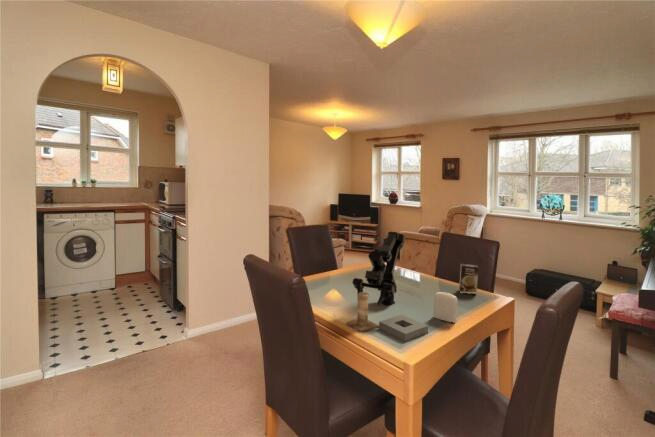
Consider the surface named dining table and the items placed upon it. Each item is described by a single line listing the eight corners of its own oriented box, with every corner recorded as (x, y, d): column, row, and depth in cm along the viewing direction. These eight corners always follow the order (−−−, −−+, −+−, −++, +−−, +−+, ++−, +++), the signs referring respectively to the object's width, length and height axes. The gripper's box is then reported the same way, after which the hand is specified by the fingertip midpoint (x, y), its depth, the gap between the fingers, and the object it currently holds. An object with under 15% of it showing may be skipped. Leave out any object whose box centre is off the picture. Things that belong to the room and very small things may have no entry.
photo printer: (431, 317, 154) (433, 291, 153) (435, 315, 157) (437, 289, 156) (453, 324, 147) (455, 296, 146) (457, 321, 150) (459, 294, 149)
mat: (345, 324, 144) (345, 322, 143) (362, 319, 150) (362, 317, 149) (361, 332, 136) (361, 330, 136) (378, 327, 142) (378, 325, 142)
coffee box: (459, 293, 192) (461, 265, 190) (458, 290, 198) (460, 263, 196) (476, 295, 189) (478, 267, 187) (475, 292, 195) (477, 264, 194)
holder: (378, 328, 140) (379, 321, 140) (401, 321, 149) (401, 314, 148) (405, 341, 129) (405, 333, 129) (427, 332, 138) (428, 325, 137)
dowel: (356, 321, 144) (357, 292, 143) (366, 321, 145) (367, 292, 144) (358, 326, 140) (359, 295, 139) (368, 325, 141) (369, 295, 139)
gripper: (354, 260, 154) (343, 290, 146) (394, 266, 146) (384, 298, 137) (360, 273, 162) (350, 302, 153) (398, 279, 153) (389, 310, 145)
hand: (367, 303), depth 147 cm, fingers open, 9 cm apart
